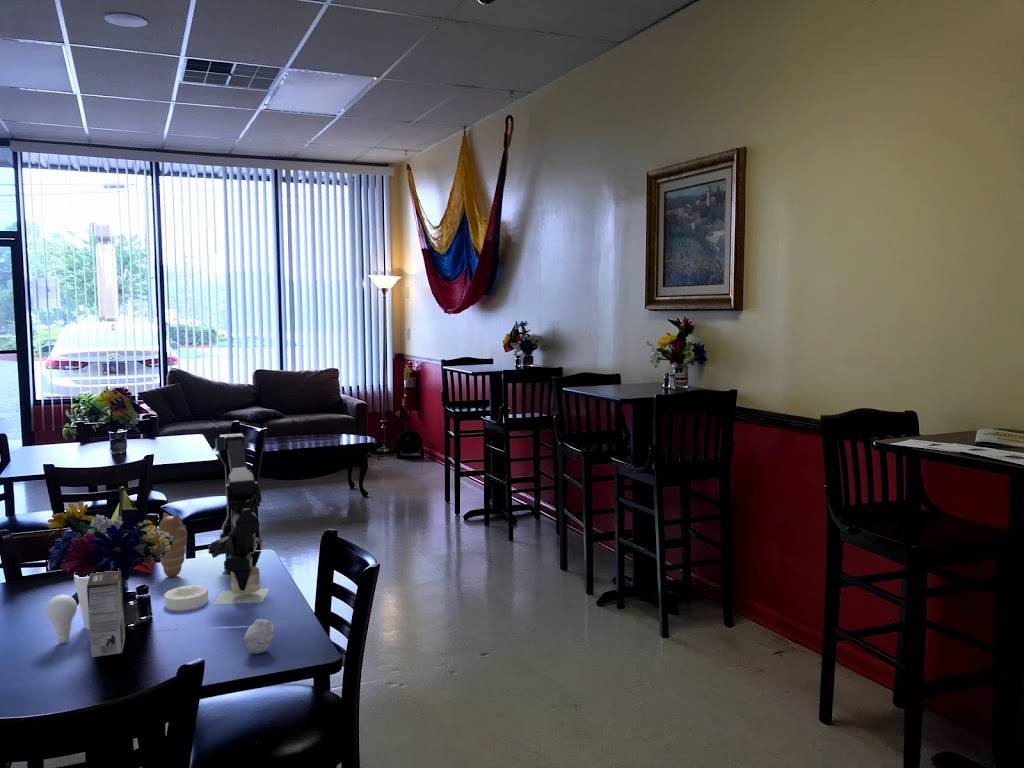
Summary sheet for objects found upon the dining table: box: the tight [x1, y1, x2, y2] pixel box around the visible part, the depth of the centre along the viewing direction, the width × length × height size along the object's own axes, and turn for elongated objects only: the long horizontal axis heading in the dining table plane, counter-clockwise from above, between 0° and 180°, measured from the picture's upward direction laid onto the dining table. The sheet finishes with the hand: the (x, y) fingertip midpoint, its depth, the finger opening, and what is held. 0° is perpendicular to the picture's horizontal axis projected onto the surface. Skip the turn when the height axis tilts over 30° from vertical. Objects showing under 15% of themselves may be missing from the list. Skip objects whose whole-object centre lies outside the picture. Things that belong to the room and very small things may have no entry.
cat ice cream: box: [158, 512, 188, 578], centre depth 225 cm, size 9×8×18 cm
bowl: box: [163, 584, 209, 612], centre depth 205 cm, size 10×10×3 cm
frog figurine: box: [243, 618, 275, 654], centre depth 176 cm, size 6×7×7 cm
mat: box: [213, 588, 270, 605], centre depth 209 cm, size 10×12×1 cm
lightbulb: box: [45, 594, 78, 644], centre depth 181 cm, size 6×6×11 cm
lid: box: [230, 566, 261, 594], centre depth 209 cm, size 7×7×5 cm
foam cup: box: [73, 573, 89, 631], centre depth 191 cm, size 10×9×13 cm
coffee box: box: [87, 569, 126, 658], centre depth 178 cm, size 9×6×16 cm
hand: (245, 585), depth 209 cm, fingers closed on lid, 7 cm apart
